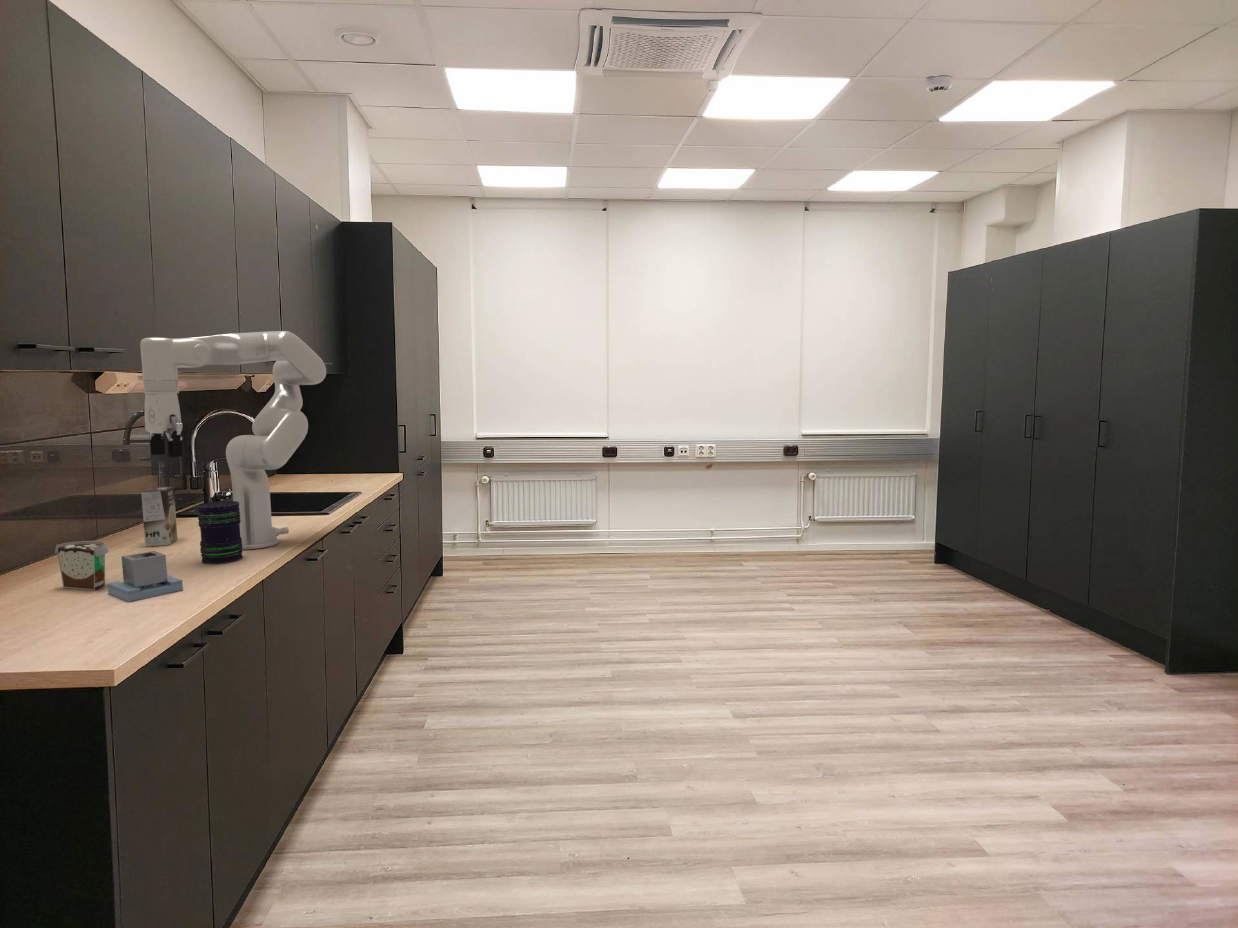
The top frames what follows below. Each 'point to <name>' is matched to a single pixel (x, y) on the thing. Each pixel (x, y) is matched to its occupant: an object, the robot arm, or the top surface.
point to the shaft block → (144, 589)
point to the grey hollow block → (144, 568)
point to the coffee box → (159, 516)
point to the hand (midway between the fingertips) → (166, 455)
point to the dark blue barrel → (220, 532)
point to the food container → (82, 564)
